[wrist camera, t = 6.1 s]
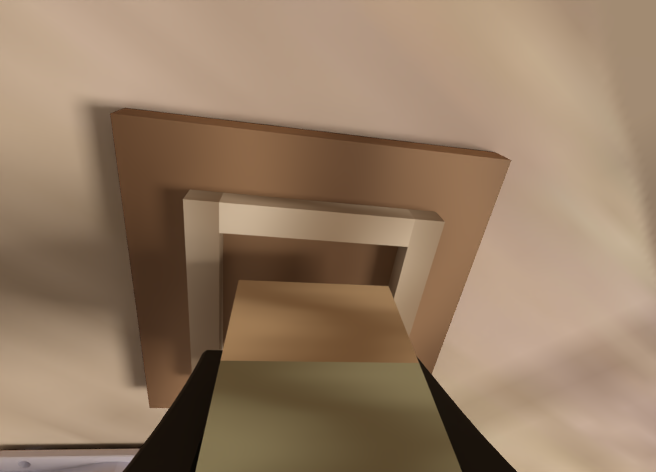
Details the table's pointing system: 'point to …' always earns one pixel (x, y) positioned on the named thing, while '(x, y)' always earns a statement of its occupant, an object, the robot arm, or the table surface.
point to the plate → (289, 225)
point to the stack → (321, 386)
